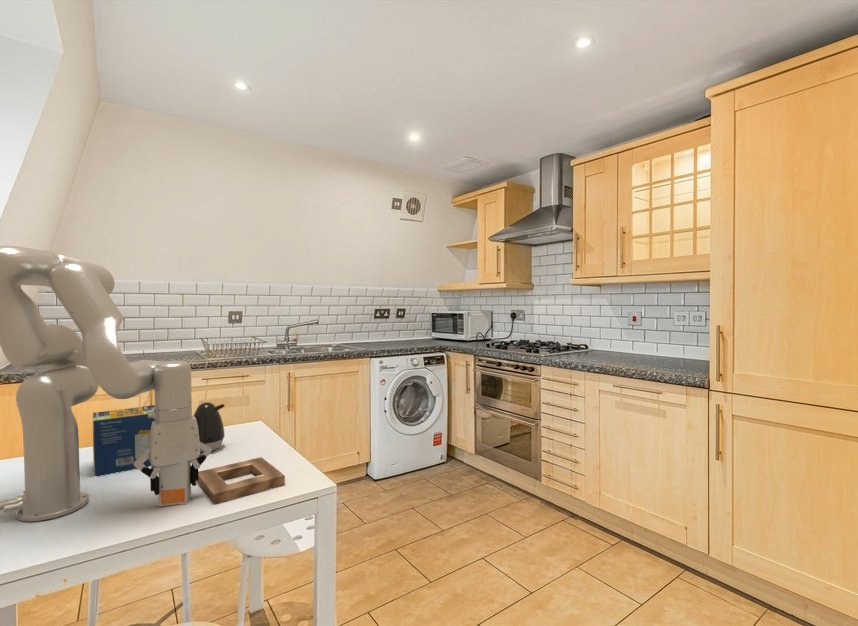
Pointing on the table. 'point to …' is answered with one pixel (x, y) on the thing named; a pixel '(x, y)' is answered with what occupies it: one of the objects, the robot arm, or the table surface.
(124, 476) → the table surface
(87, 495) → the robot arm
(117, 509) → the table surface
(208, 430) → the pump dispenser
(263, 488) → the wooden square frame
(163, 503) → the skincare box
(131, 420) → the protein box
